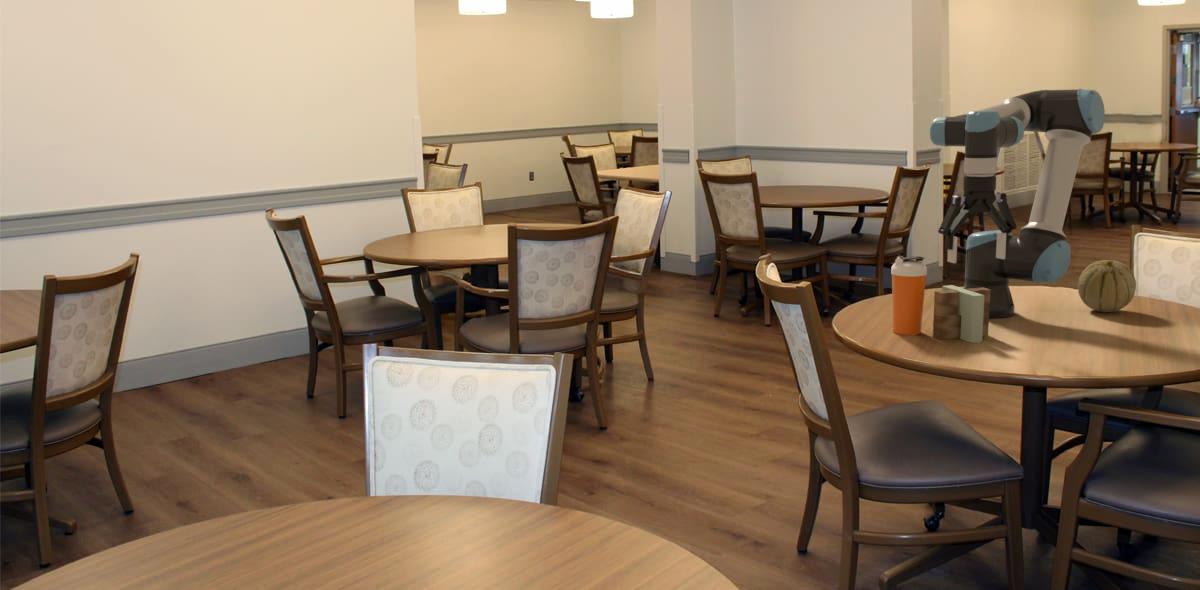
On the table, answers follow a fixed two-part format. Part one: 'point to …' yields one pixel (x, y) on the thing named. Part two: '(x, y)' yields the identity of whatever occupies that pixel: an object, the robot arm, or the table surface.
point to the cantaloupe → (1107, 286)
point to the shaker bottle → (908, 294)
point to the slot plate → (969, 313)
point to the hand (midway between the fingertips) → (976, 260)
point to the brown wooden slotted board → (954, 313)
